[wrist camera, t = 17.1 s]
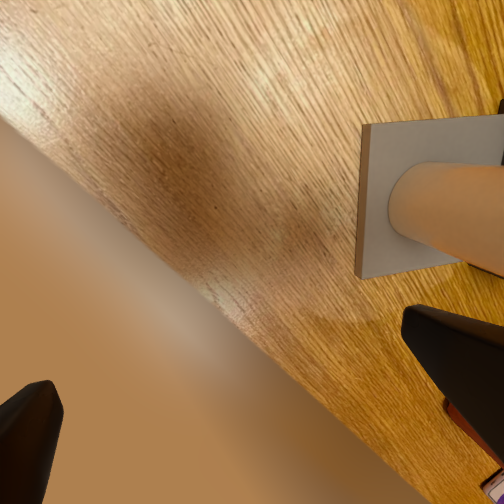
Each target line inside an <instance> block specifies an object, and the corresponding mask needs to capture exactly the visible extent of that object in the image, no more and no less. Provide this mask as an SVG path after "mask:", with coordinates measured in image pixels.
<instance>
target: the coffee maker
mask: <svg viewBox="0 0 504 504" xmlns="http://www.w3.org/2000/svg"><path fill="white" fill-rule="evenodd" d="M426 161H438V162H456V163H474V164H491V165H504V99H502V100H501V105H500V110H499V114H497V115H484V116H470V117H457V118H443V119H430V120H416V121H403V122H389V123H376V124H366V125H363V132H362V151H361V169H360V187H359V206H358V224H357V242H356V261H355V275H356V276H357V277H359V278H360V279H361V280H363V279H368V278H374V277H379V276H385V275H390V274H396V273H401V272H407V271H412V270H418V269H424V268H429V267H435V266H440V265H446V264H451V263H457V262H462V261H463V260H460V259H458V258H455V257H453V256H450V255H448V254H445V253H443V252H440V251H438V250H435V249H433V248H430V247H428V246H425V245H423V244H420V243H418V242H415V241H413V240H410V239H408V238H406V237H403V236H401V235H400V234H398V233H397V232H396V231H395V230H394V228H393V227H392V225H391V223H390V220H389V215H388V203H389V198H390V195H391V192H392V190H393V188H394V186H395V184H396V183H397V181H398V180H399V178H400V177H401V176H402V175H403V174H404V173H405V172H406V171H407V170H409V169H410V168H411V167H413V166H415V165H417V164H419V163H422V162H426ZM468 265H470V266H472V267H475V268H477V269H479V270H482V271H484V272H487V273H489V274H492V275H494V276H496V277H499V278H501V279H504V277H502V276H500V275H497V274H495V273H492V272H490V271H487V270H485V269H482V268H480V267H477V266H475V265H472V264H470V263H468Z"/></svg>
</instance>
